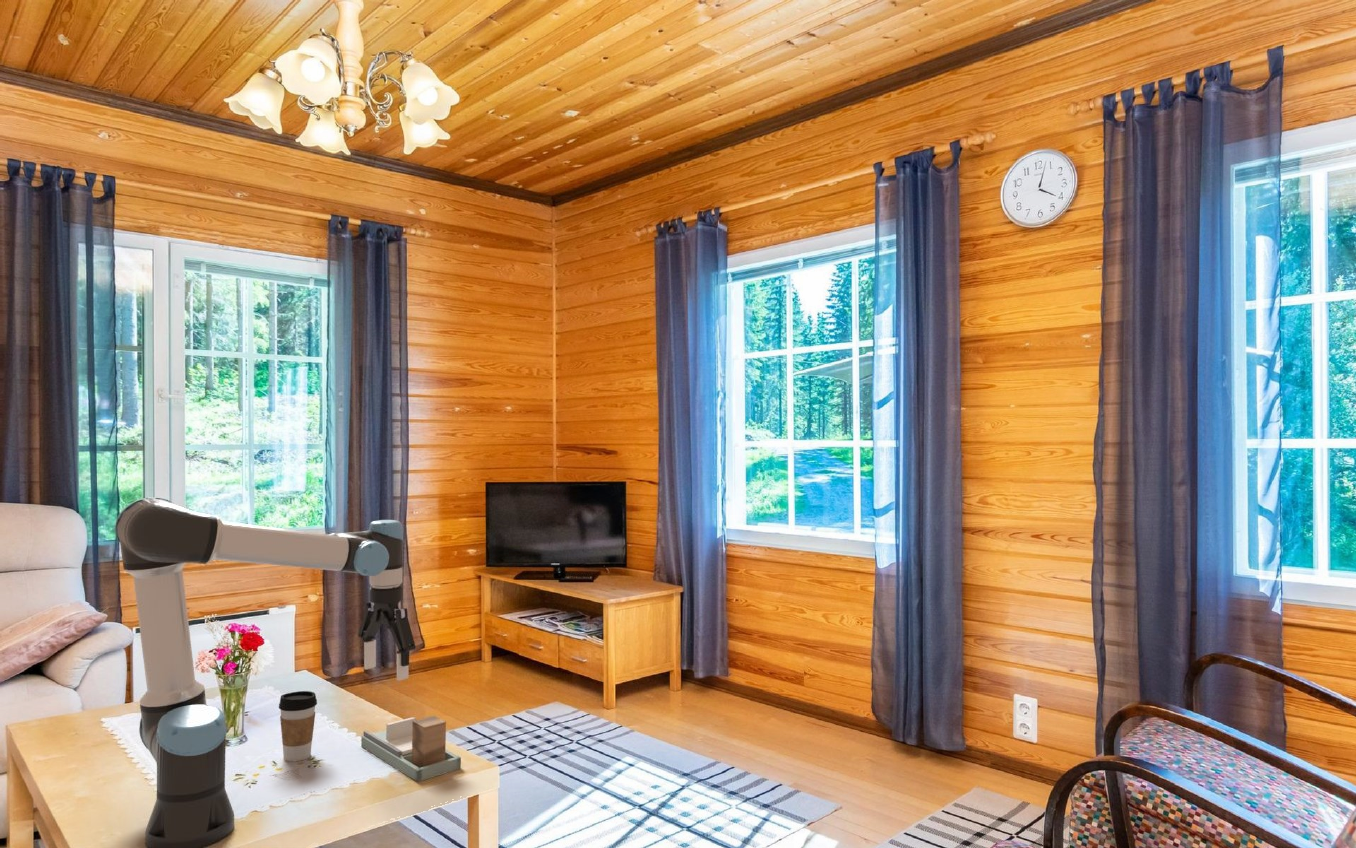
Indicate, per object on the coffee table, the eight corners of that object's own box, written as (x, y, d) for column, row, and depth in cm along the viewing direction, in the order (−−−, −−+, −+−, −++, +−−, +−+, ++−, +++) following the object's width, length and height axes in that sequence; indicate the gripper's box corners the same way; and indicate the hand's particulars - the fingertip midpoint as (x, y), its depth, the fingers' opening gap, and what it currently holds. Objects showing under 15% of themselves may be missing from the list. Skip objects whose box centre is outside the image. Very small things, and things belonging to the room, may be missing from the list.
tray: (460, 768, 202) (460, 752, 202) (417, 781, 194) (417, 765, 194) (402, 735, 222) (403, 721, 222) (361, 746, 214) (361, 731, 214)
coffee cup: (269, 759, 205) (270, 696, 205) (300, 747, 212) (301, 686, 212) (294, 766, 201) (294, 702, 201) (324, 754, 208) (325, 692, 208)
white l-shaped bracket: (433, 746, 208) (433, 726, 208) (402, 755, 202) (402, 734, 202) (414, 736, 214) (415, 716, 214) (384, 744, 208) (384, 724, 208)
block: (445, 768, 201) (445, 721, 201) (423, 775, 198) (424, 727, 197) (433, 761, 205) (433, 715, 205) (411, 768, 201) (412, 721, 201)
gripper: (431, 589, 202) (430, 680, 202) (371, 576, 217) (370, 660, 218) (403, 595, 196) (402, 688, 196) (343, 580, 212) (343, 667, 212)
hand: (386, 673), depth 207 cm, fingers open, 13 cm apart
